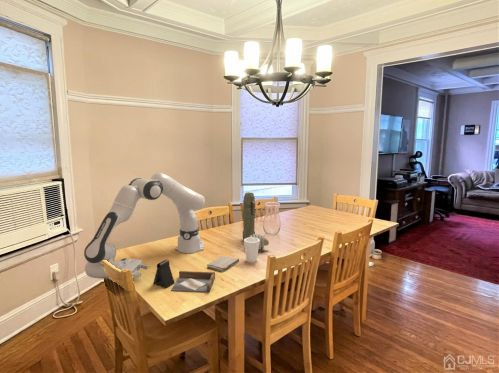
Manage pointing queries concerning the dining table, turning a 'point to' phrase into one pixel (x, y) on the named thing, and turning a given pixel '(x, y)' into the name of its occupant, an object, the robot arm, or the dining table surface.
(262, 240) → the toy sheep
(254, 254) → the foam cup
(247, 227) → the green cactus
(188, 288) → the tray
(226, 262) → the washcloth
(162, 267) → the door stopper
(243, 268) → the dining table surface
